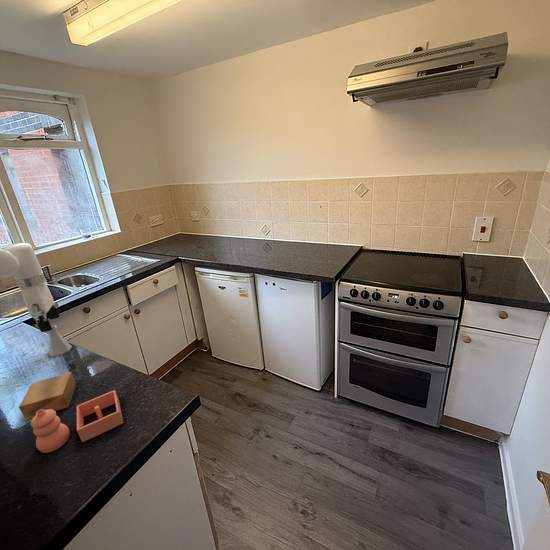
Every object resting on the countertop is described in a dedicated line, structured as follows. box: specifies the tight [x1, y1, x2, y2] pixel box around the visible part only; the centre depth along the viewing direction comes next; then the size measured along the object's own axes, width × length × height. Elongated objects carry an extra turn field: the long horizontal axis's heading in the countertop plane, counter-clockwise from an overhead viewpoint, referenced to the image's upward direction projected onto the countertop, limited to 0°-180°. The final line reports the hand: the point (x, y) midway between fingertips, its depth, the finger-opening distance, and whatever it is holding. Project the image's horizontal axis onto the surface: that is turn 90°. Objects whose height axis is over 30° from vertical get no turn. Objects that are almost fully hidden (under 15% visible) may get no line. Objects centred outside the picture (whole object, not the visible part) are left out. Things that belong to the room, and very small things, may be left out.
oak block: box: [18, 371, 77, 421], centre depth 84 cm, size 10×10×5 cm
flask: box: [46, 325, 73, 358], centre depth 108 cm, size 7×7×10 cm
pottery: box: [30, 389, 124, 454], centre depth 73 cm, size 18×10×10 cm, turn 123°
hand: (51, 324), depth 106 cm, fingers open, 9 cm apart
